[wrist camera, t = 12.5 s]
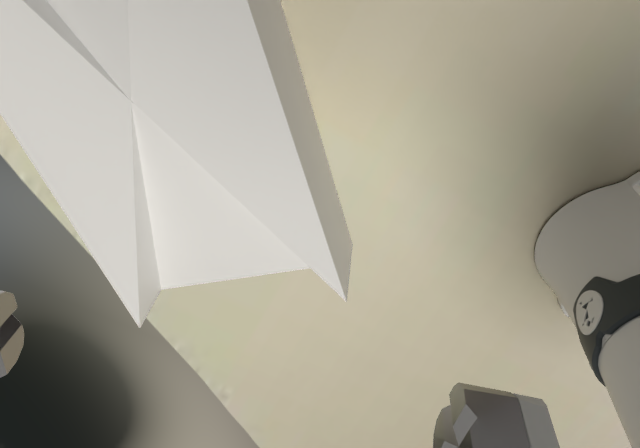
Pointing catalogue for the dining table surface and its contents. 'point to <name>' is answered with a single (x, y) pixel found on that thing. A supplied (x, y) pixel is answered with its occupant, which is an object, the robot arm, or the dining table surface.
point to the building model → (174, 139)
